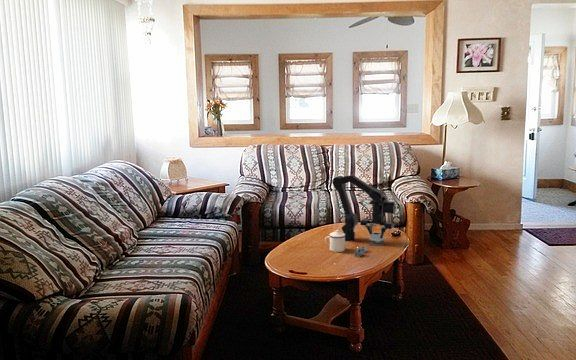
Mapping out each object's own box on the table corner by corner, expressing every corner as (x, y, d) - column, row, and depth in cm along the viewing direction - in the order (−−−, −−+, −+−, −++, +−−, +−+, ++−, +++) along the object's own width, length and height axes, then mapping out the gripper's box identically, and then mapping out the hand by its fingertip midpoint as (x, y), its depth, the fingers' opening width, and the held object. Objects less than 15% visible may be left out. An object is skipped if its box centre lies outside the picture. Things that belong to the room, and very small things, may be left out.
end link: (379, 241, 282) (380, 235, 282) (370, 240, 285) (370, 234, 285) (383, 238, 288) (383, 233, 287) (373, 237, 291) (373, 231, 290)
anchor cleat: (359, 257, 264) (359, 248, 263) (354, 256, 265) (354, 247, 264) (363, 254, 268) (363, 246, 267) (358, 253, 269) (358, 245, 269)
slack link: (364, 252, 271) (364, 248, 270) (359, 252, 272) (359, 248, 271) (366, 250, 274) (366, 246, 274) (362, 250, 275) (362, 246, 275)
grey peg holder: (369, 245, 284) (369, 236, 283) (370, 241, 292) (370, 232, 291) (383, 245, 282) (383, 237, 281) (383, 241, 290) (383, 233, 289)
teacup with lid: (347, 248, 278) (347, 228, 276) (342, 253, 270) (342, 233, 268) (328, 245, 284) (328, 226, 282) (322, 250, 276) (322, 230, 274)
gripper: (397, 210, 286) (396, 236, 289) (367, 207, 295) (366, 232, 298) (391, 215, 276) (390, 241, 279) (360, 211, 285) (359, 237, 288)
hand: (376, 237), depth 286 cm, fingers closed on end link, 6 cm apart
